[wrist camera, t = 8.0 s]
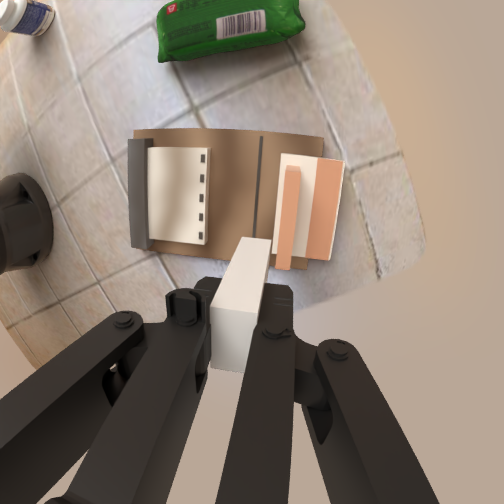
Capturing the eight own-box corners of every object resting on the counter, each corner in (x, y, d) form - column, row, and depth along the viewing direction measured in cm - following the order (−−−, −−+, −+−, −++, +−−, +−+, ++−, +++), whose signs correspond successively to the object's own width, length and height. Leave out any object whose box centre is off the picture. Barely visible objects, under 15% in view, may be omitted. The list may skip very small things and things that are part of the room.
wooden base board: (140, 245, 34) (128, 255, 32) (138, 129, 29) (124, 130, 26) (306, 265, 32) (307, 278, 30) (322, 137, 27) (325, 137, 24)
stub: (272, 249, 31) (266, 278, 25) (281, 153, 27) (278, 157, 21) (328, 255, 30) (336, 286, 24) (342, 160, 27) (357, 167, 20)
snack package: (312, 46, 24) (316, 29, 19) (166, 72, 26) (144, 62, 22) (300, -6, 21) (301, -29, 16) (161, 20, 24) (141, 5, 19)
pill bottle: (60, 4, 22) (16, -10, 13) (47, 35, 24) (0, 26, 16) (40, 8, 22) (-2, -2, 13) (28, 38, 24) (-16, 32, 16)
